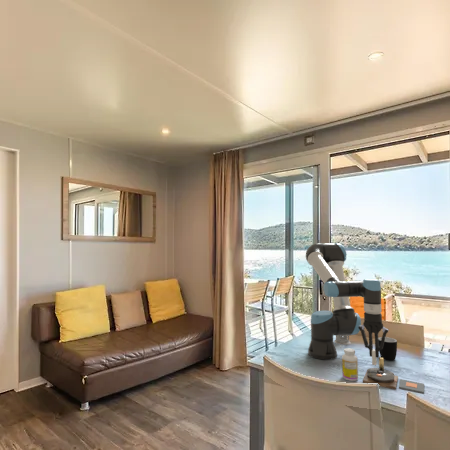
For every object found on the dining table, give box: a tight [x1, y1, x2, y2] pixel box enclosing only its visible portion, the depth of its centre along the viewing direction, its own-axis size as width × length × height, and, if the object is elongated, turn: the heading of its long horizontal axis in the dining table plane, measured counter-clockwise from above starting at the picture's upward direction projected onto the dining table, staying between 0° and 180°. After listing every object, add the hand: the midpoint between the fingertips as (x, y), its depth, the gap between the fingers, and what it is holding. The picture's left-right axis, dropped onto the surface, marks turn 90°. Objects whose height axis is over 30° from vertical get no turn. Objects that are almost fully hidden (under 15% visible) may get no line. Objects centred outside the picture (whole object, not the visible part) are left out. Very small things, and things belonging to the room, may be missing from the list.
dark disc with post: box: [366, 356, 395, 382], centre depth 144 cm, size 11×11×7 cm
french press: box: [333, 335, 351, 346], centre depth 199 cm, size 10×12×25 cm
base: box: [362, 371, 399, 390], centre depth 143 cm, size 13×13×1 cm
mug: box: [378, 336, 398, 362], centre depth 171 cm, size 12×9×10 cm
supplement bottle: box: [341, 347, 359, 382], centre depth 146 cm, size 7×7×13 cm
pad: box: [398, 378, 425, 394], centre depth 137 cm, size 9×9×1 cm
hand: (374, 364), depth 148 cm, fingers closed
